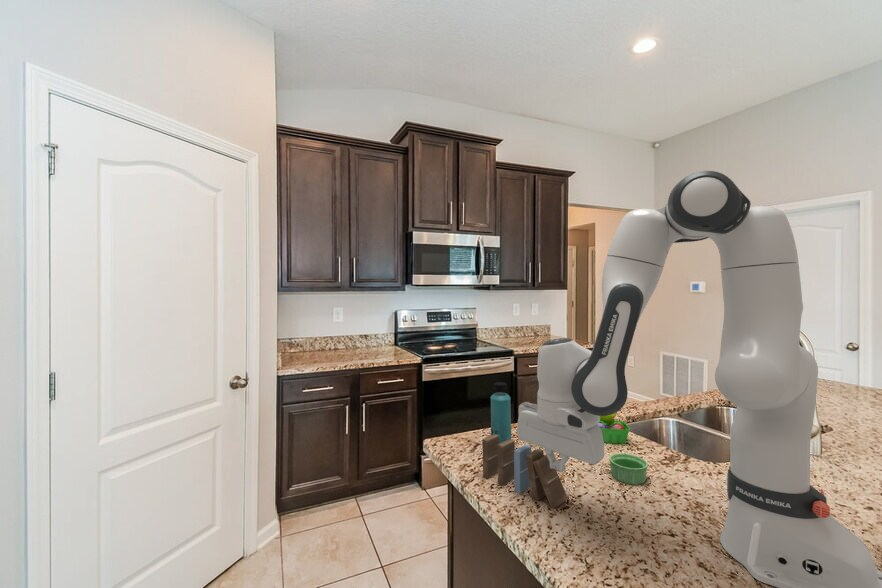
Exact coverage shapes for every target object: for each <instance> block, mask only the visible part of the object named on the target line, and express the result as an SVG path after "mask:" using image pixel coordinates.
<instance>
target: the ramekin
mask: <svg viewBox="0 0 882 588" xmlns="http://www.w3.org/2000/svg"><path fill="white" fill-rule="evenodd" d="M608 460H609V462H610V471H611V472H610V473H611V476H612V477H613V478H614V479H615V480H617V481H618V482H621V483H624V484H628V485H642V484H644V483H645V482H646V480H647V470H648V467H649V464H648V462H647V461H646V460H645V459H644V458H642V457H640V456H637V455H634V454H631V453H630V454H629V453H613V454H611V455H609V459H608Z"/></svg>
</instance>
